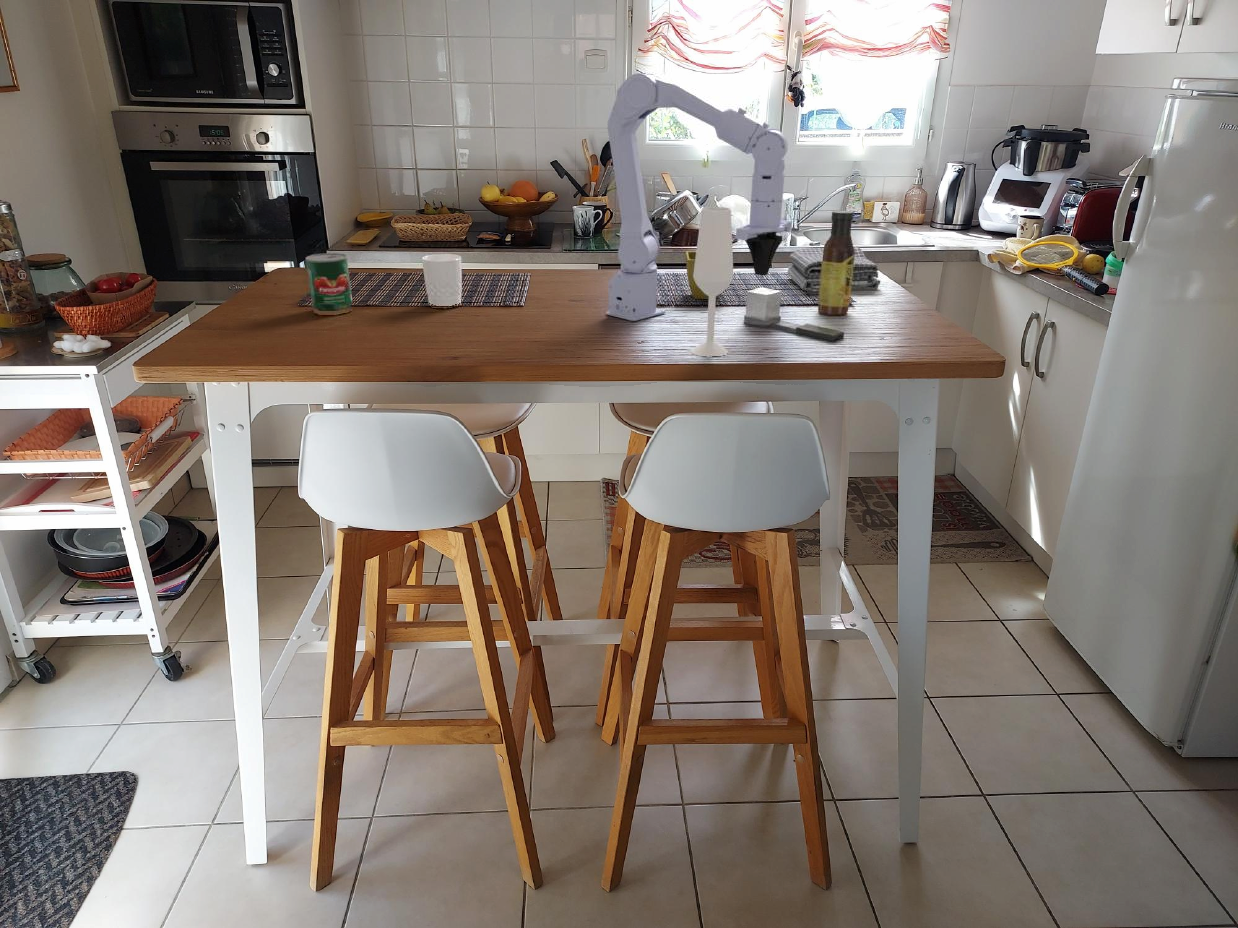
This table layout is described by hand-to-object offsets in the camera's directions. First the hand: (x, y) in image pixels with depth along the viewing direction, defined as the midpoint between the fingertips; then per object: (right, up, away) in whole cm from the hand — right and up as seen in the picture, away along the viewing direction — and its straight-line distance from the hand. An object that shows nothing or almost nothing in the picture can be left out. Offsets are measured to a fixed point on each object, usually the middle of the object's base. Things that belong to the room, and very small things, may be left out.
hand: (761, 274), depth 161 cm
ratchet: (+5, -11, -1) cm, 12 cm away
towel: (+22, +5, +35) cm, 42 cm away
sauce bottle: (+16, -6, +11) cm, 20 cm away
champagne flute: (-11, -17, -14) cm, 25 cm away
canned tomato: (-85, -5, +11) cm, 86 cm away
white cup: (-63, -3, +16) cm, 66 cm away
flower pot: (-8, 0, +23) cm, 25 cm away
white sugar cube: (+1, -8, +3) cm, 8 cm away
